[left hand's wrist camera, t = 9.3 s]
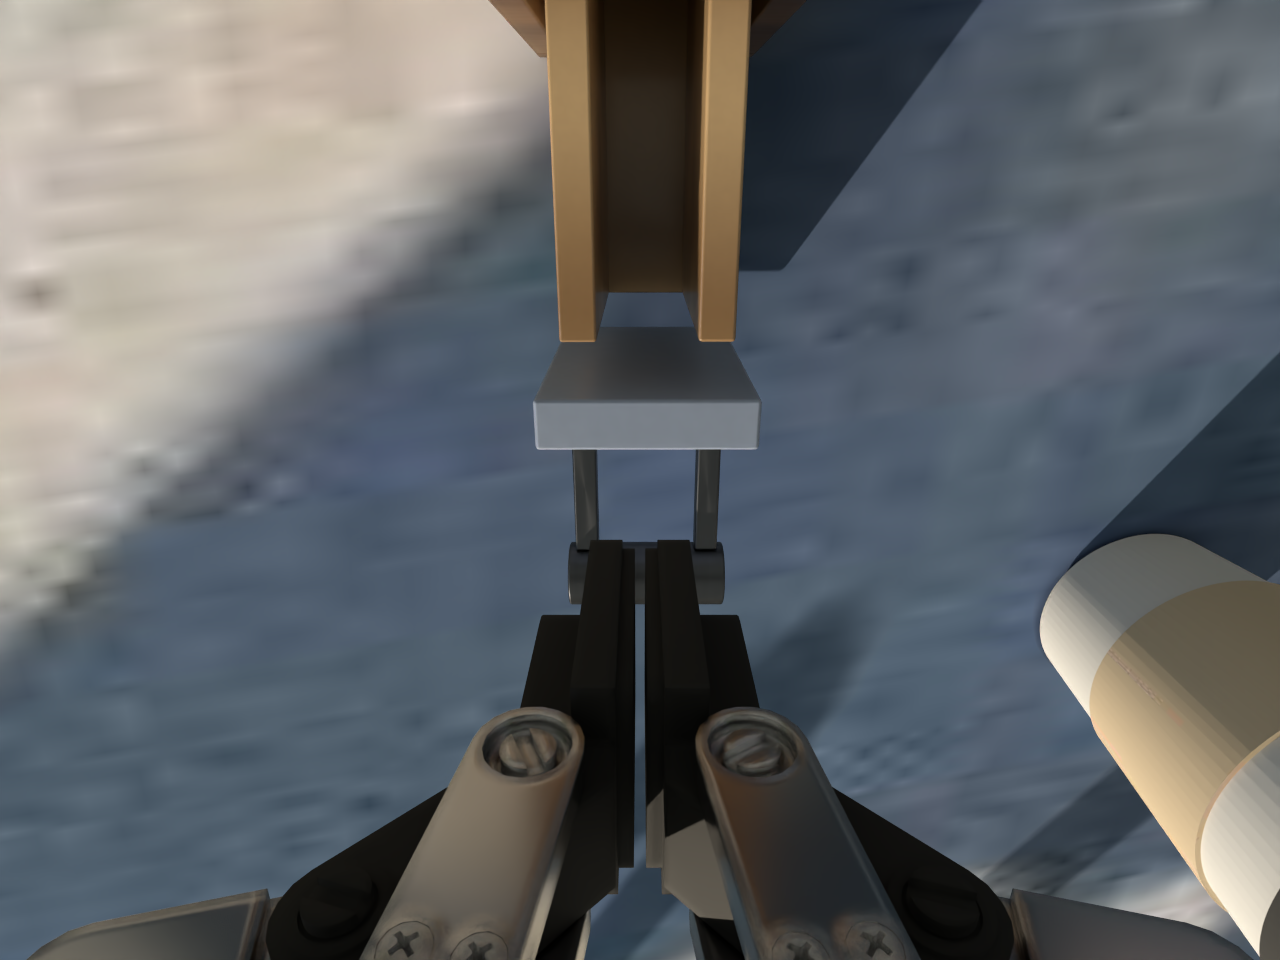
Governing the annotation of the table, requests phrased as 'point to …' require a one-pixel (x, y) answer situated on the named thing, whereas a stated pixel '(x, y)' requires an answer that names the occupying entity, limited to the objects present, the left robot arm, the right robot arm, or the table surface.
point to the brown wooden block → (526, 15)
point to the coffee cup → (1185, 704)
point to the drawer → (647, 249)
